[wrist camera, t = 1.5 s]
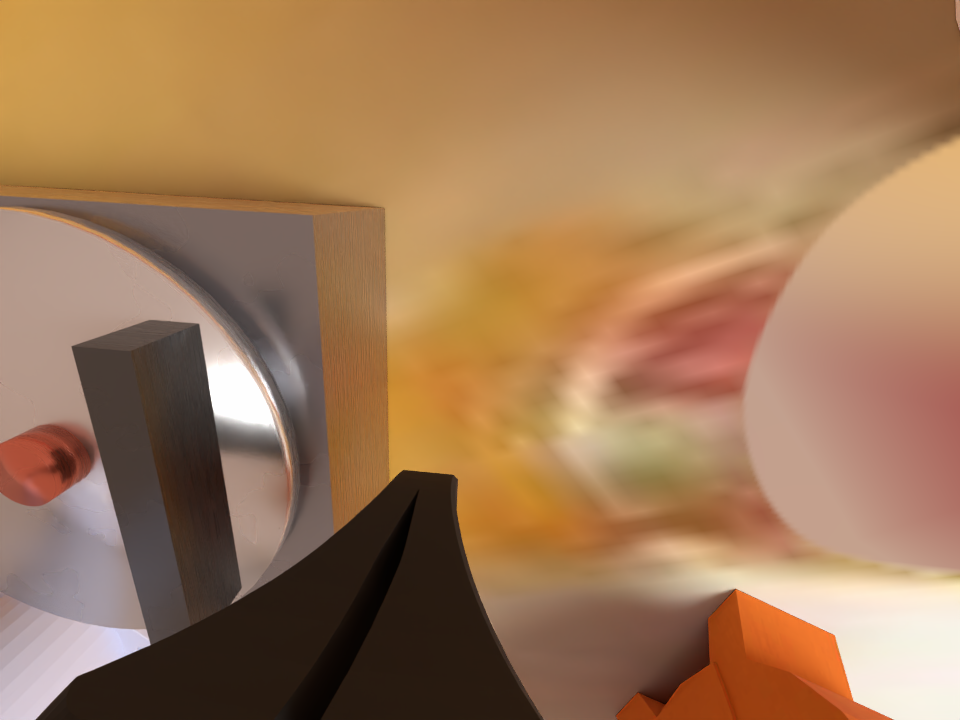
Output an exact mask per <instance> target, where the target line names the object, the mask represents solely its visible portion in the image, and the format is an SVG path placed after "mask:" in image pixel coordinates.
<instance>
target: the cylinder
mask: <svg viewBox="0 0 960 720" xmlns="http://www.w3.org/2000/svg"><path fill="white" fill-rule="evenodd" d="M955 2H956V21H957V24H958V27H959V30H960V0H955Z"/></svg>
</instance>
